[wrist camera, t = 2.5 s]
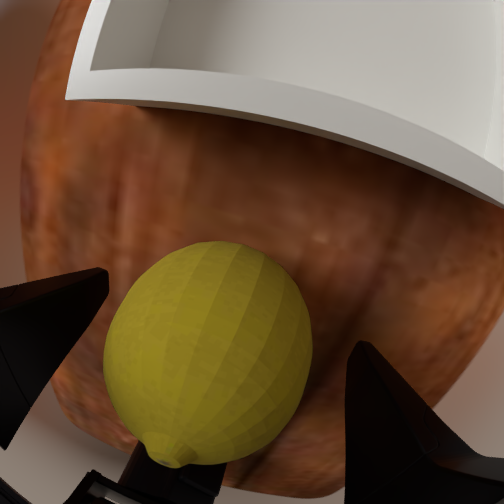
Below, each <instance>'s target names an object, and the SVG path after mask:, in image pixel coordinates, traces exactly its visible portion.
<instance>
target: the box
mask: <svg viewBox="0 0 504 504" xmlns="http://www.w3.org/2000/svg"><path fill="white" fill-rule="evenodd" d="M65 100H77V101H92V102H104V103H114V104H123V105H131V106H144V107H157V108H169V109H179V110H187V111H196V112H203V113H210V114H217V115H223V116H229V117H235V118H241V119H246V120H252V121H257V122H262V123H267V124H271V125H276V126H280V127H285V128H289V129H293V130H297V131H301V132H305V133H309V134H313V135H316V136H320V137H324V138H327V139H331V140H334V141H338V142H341V143H344V144H347V145H351V146H354V147H357V148H360V149H363V150H366V151H369V152H372V153H375V154H378V155H381V156H383V157H386V158H389V159H392V160H394V161H397V162H400V163H402V164H405V165H407V166H410V167H412V168H415V169H417V170H420V171H422V172H425V173H427V174H429V175H432V176H434V177H436V178H439V179H441V180H443V181H445V182H447V183H450V184H452V185H454V186H456V187H458V188H460V189H462V190H464V191H466V192H468V193H470V194H472V195H474V196H476V197H478V198H481V199H483V200H485V201H487V202H490V203H492V204H494V205H496V206H498V207H501V208H503V209H504V0H92V2H91V4H90V7H89V10H88V12H87V15H86V18H85V21H84V24H83V27H82V30H81V34H80V37H79V40H78V44H77V47H76V51H75V55H74V59H73V63H72V67H71V71H70V76H69V81H68V86H67V91H66V96H65Z"/></svg>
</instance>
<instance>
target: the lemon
mask: <svg viewBox="0 0 504 504" xmlns="http://www.w3.org/2000/svg"><path fill="white" fill-rule="evenodd" d="M312 351H313V344H312V332H311V323H310V316H309V312H308V309H307V306H306V304H305V302H304V299H303V297H302V295H301V293H300V291H299V288H298V286H297V285H296V283H295V282H294V281H293V279H292V278H291V277H290V276H289V275H288V273H287V272H286V271H285V270H284V269H283V267H282V266H281V265H279V264H278V263H277V262H275V261H274V260H273V259H271V258H270V257H268V256H267V255H266V254H264V253H263V252H261V251H258V250H256V249H253V248H251V247H249V246H246V245H244V244H237V243H231V242H225V241H213V242H201V243H196V244H193V245H190V246H188V247H185V248H182V249H179V250H177V251H174V252H172V253H170V254H168V255H167V256H165V257H164V258H162V259H161V260H160V261H158V262H157V263H156V264H155V265H153V266H152V267H151V268H150V269H148V270H147V271H146V272H145V273H144V274H142V275H141V276H140V278H139V279H138V280H137V281H136V282H135V283H134V285H133V286H132V287H131V289H130V290H129V292H128V294H127V295H126V297H125V298H124V300H123V302H122V303H121V305H120V307H119V309H118V310H117V312H116V314H115V316H114V318H113V320H112V323H111V325H110V328H109V331H108V334H107V338H106V343H105V348H104V358H103V374H104V379H105V383H106V387H107V391H108V394H109V398H110V400H111V402H112V405H113V407H114V409H115V411H116V412H117V414H118V415H119V417H120V419H121V420H122V422H123V423H124V425H125V426H126V427H127V429H128V430H129V431H130V432H131V433H132V434H133V435H134V436H135V437H136V438H137V439H138V440H140V441H141V442H142V443H143V444H144V445H145V447H146V450H147V452H148V455H149V456H150V458H152V459H153V460H154V461H156V462H157V463H159V464H161V465H164V466H167V467H170V468H180V467H182V466H184V465H187V464H189V463H190V464H201V465H212V464H220V463H225V462H230V461H234V460H238V459H240V458H243V457H245V456H248V455H250V454H252V453H254V452H255V451H257V450H259V449H261V448H262V447H264V446H265V445H267V444H269V443H270V442H271V441H272V440H273V439H274V438H275V437H276V436H277V435H278V434H279V433H280V432H281V431H282V429H283V428H284V427H285V426H286V424H287V423H288V422H289V420H290V419H291V417H292V416H293V414H294V413H295V411H296V409H297V407H298V405H299V402H300V400H301V397H302V395H303V392H304V388H305V385H306V381H307V378H308V374H309V370H310V366H311V360H312Z"/></svg>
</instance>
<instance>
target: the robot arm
mask: <svg viewBox="0 0 504 504" xmlns="http://www.w3.org/2000/svg"><path fill="white" fill-rule="evenodd" d="M108 294H109V274H108V271H107V270H105V269H102V268H99V267H96V268H92V269H87V270H82V271H78V272H73V273H68V274H63V275H59V276H54V277H50V278H45V279H40V280H36V281H31V282H27V283H23V284H19V285H13V286H9V287H4V288H0V447H1V448H2V449H3V450H6V449H7V447H8V446H9V444H10V442H11V440H12V439H13V437H14V435H15V433H16V431H17V430H18V428H19V427H20V425H21V423H22V422H23V420H24V418H25V417H26V415H27V414H28V412H29V411H30V407H32V406H33V404H34V402H35V401H36V399H37V398H38V396H39V395H40V393H41V392H42V390H43V388H44V387H45V386H46V384H47V383H48V381H49V380H50V378H51V377H52V375H53V374H54V373H55V371H56V370H57V368H58V367H59V366H60V364H61V363H62V361H63V360H64V359H65V357H66V356H67V354H68V353H69V352H70V350H71V349H72V348H73V346H74V345H75V344H76V342H77V341H78V340H79V338H80V337H81V336H82V334H83V333H84V332H85V330H86V329H87V328H88V326H89V325H90V323H91V322H92V320H93V318H94V317H95V315H96V314H97V312H98V310H99V309H100V307H101V306H102V304H103V302H104V301H105V299H106V298H107V296H108ZM345 439H346V464H345V498H344V504H504V458H495V457H486V456H483V455H480V454H478V453H477V452H475V451H474V450H473V449H471V448H470V447H469V446H468V445H467V444H466V443H465V442H464V441H463V440H462V439H461V438H460V437H458V435H457V434H456V433H454V432H453V431H452V430H451V429H450V428H449V427H448V426H447V425H446V424H445V423H444V422H443V421H442V420H441V419H440V418H439V417H438V416H437V415H436V413H435V412H434V411H433V410H432V409H431V408H430V407H429V406H428V405H427V404H426V402H425V401H424V400H423V399H422V398H421V397H420V396H419V395H418V394H417V393H416V391H415V390H414V389H413V388H412V387H411V386H410V385H409V384H408V383H407V382H406V381H405V379H404V378H403V377H402V376H401V375H400V374H399V373H398V372H397V371H396V370H395V369H394V368H393V367H392V365H391V364H390V363H389V362H388V361H387V360H386V359H385V358H384V357H383V356H382V355H381V354H380V353H379V352H378V350H377V349H376V348H375V347H374V346H373V345H372V344H371V343H370V342H366V341H358V342H357V343H356V345H355V347H354V349H353V351H352V352H351V354H350V356H349V358H348V361H347V372H346V387H345ZM240 459H241V458H240ZM226 465H227V462H225V463H220V464H212V465H201V464H190V463H189V464H187V465H184V466H182V467H180V468H170V467H167V466H164V465H161V464H159V463H157V462H156V461H154V460H153V459H152V458H150V456H149V455H148V452H147V450H146V447H145V445H144V444H143V443H142V442H141V441H140V440H139V441H138V443H137V445H136V447H135V449H134V451H133V453H132V455H131V457H130V459H129V461H128V463H127V465H126V467H125V469H124V471H123V473H122V475H121V477H120V479H119V481H118V483H116V482H114V481H112V480H110V479H108V478H106V477H104V476H102V475H101V473H99V472H97V471H95V470H92V471H91V472H87V474H86V475H85V477H84V478H83V479H82V481H81V482H80V483H79V485H78V486H77V487H76V489H75V490H74V491H73V493H72V494H71V496H70V497H69V498H68V499H67V500H66V501H65V502H64V503H63V504H115V503H113V502H111V501H109V500H107V499H105V496H106V497H108V498H110V499H112V500H114V501H116V502H118V503H120V504H213V503H214V499H215V497H216V496H218V494H219V491H220V488H221V484H222V480H223V477H224V473H225V469H226ZM0 504H32V503H31V502H29V501H28V500H27V499H25V498H24V497H23V496H22V495H20V494H19V493H18V492H17V491H16V490H14V489H13V488H12V487H11V486H10V485H8V484H7V483H6V482H5V481H4V480H3V479H2V478H1V477H0Z"/></svg>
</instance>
